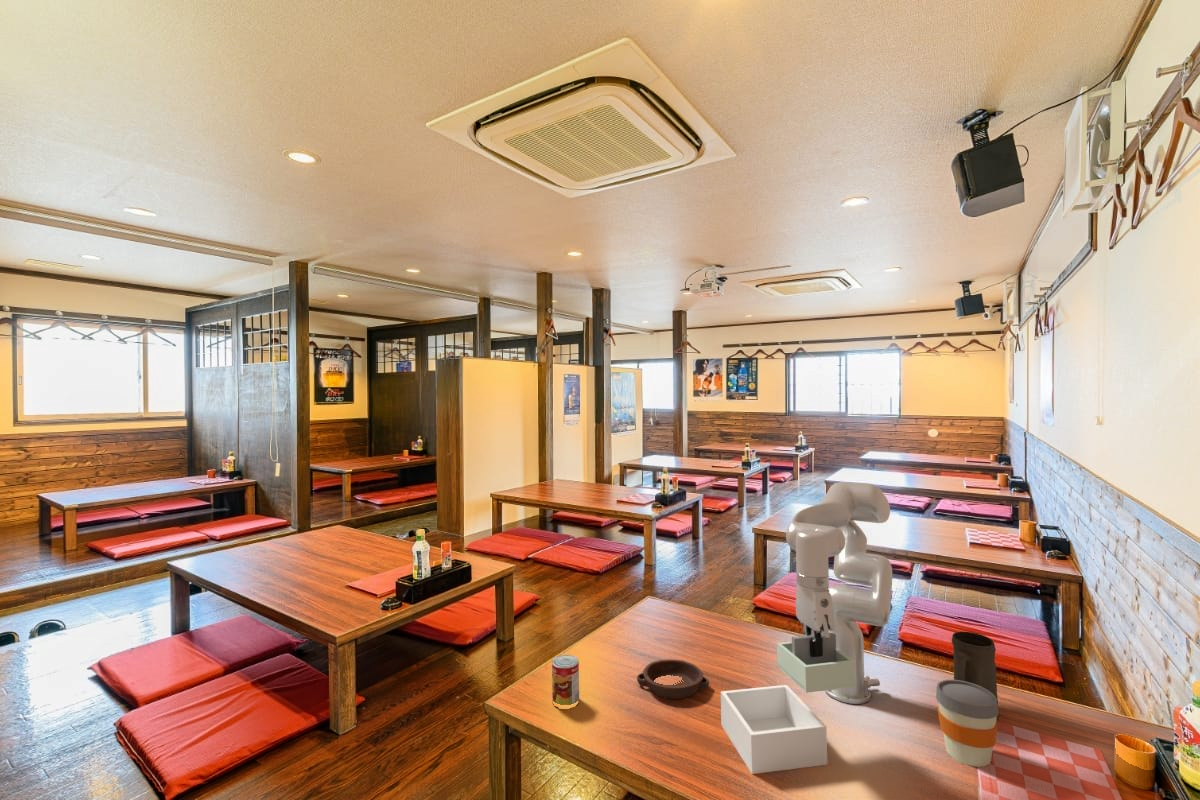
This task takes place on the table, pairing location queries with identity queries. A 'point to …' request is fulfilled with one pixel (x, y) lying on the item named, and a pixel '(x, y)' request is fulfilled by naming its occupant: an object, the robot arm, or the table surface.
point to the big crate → (773, 729)
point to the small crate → (816, 665)
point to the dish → (676, 668)
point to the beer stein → (975, 660)
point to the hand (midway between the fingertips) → (814, 654)
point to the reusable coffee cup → (967, 721)
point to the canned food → (565, 679)
